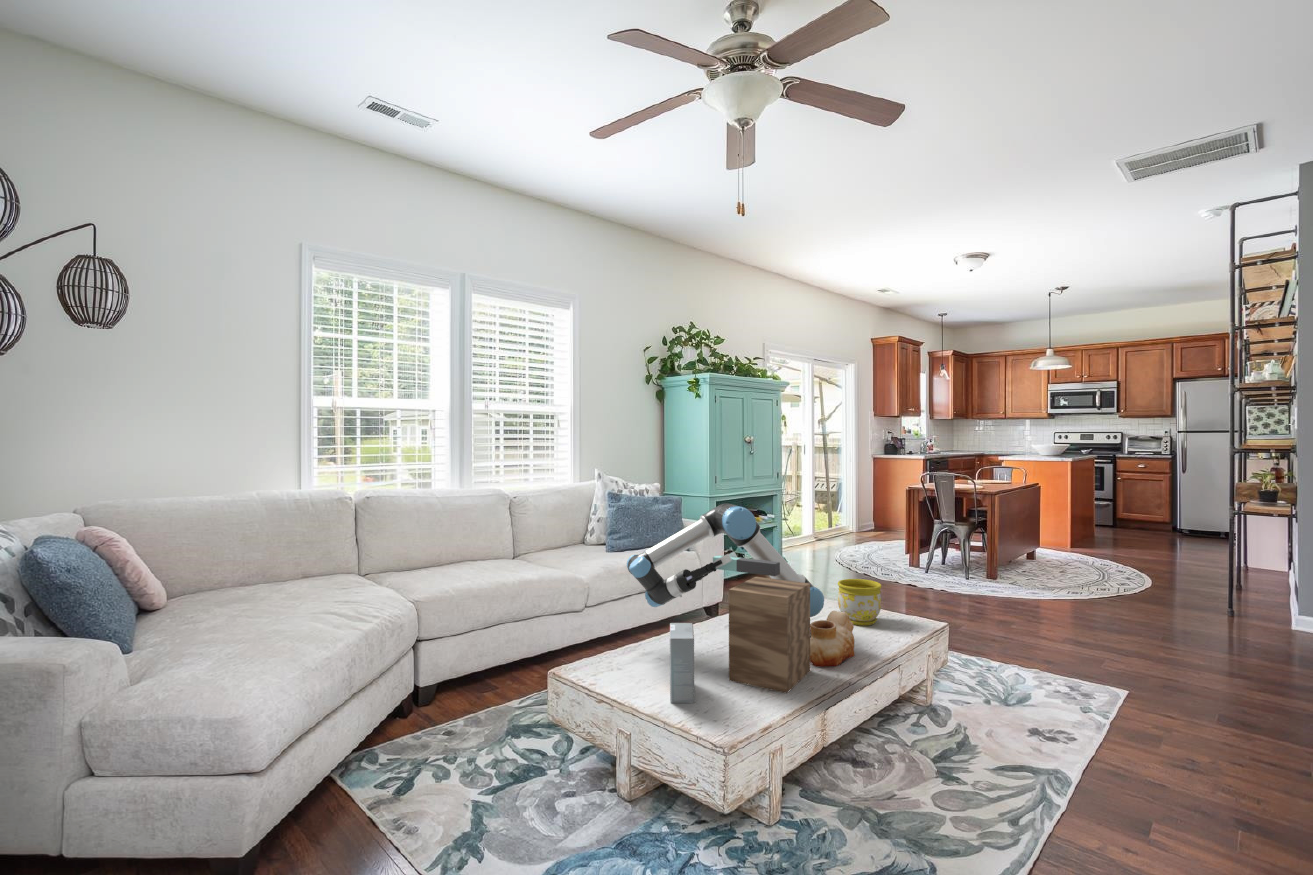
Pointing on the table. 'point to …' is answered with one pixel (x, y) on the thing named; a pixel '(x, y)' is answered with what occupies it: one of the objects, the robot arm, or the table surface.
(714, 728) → the table surface
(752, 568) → the bar
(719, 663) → the table surface
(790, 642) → the upright wooden block
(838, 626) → the ceramic vessel
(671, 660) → the hard drive box
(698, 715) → the table surface
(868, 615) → the flowerpot
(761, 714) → the table surface
